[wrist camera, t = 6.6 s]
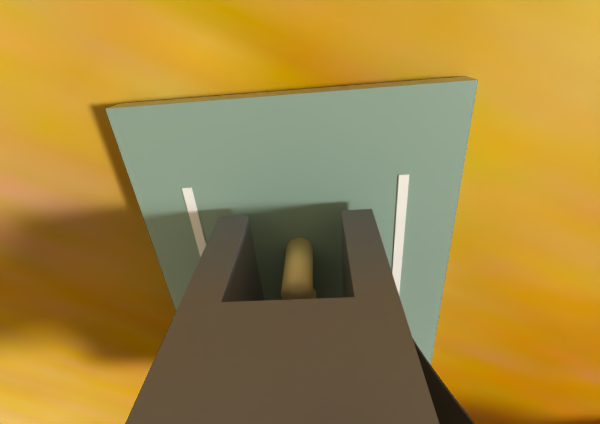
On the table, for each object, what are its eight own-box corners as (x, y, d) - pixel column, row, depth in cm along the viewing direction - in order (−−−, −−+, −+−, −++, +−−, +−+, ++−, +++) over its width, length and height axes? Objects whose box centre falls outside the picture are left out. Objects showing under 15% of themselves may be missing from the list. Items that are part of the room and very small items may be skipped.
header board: (465, 76, 9) (526, 94, 7) (418, 389, 16) (440, 460, 13) (120, 103, 10) (50, 129, 7) (214, 393, 16) (196, 461, 14)
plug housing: (371, 208, 10) (440, 426, 5) (366, 373, 14) (399, 587, 9) (219, 217, 10) (121, 430, 5) (257, 376, 14) (227, 583, 9)
